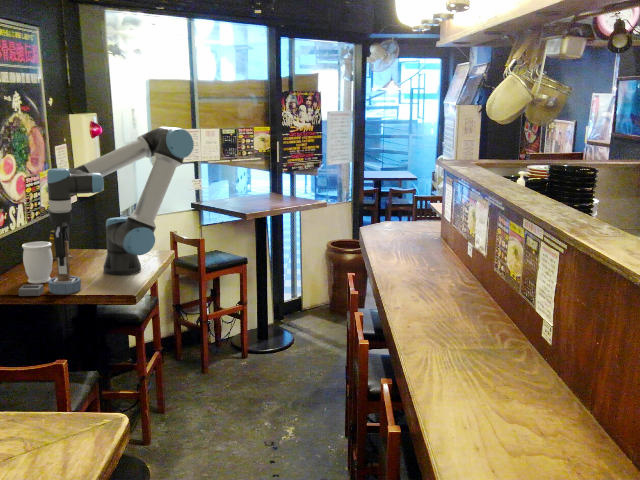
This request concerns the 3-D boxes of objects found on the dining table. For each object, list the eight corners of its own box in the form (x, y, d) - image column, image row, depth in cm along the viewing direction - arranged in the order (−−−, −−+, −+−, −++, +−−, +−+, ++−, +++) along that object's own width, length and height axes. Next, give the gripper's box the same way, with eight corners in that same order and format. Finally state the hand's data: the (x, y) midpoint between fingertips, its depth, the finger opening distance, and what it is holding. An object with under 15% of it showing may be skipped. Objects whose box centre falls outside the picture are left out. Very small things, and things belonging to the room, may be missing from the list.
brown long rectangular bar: (70, 282, 228) (68, 240, 225) (69, 283, 227) (67, 242, 223) (59, 282, 228) (57, 240, 224) (58, 283, 226) (55, 242, 222)
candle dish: (83, 285, 234) (83, 275, 233) (77, 294, 224) (76, 284, 223) (53, 286, 232) (53, 276, 231) (45, 294, 222) (45, 284, 221)
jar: (42, 286, 232) (39, 248, 229) (18, 283, 234) (15, 245, 231) (59, 278, 242) (57, 242, 239) (36, 276, 244) (34, 240, 241)
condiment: (48, 256, 275) (46, 230, 272) (67, 254, 280) (66, 228, 277) (52, 259, 269) (50, 233, 267) (72, 257, 274) (70, 231, 272)
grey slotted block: (43, 290, 226) (43, 284, 225) (39, 295, 221) (39, 289, 220) (23, 291, 225) (23, 284, 224) (19, 296, 219) (18, 289, 219)
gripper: (54, 207, 228) (58, 267, 233) (43, 214, 213) (47, 278, 218) (75, 207, 229) (78, 267, 234) (66, 214, 215) (69, 278, 220)
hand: (63, 272), depth 226 cm, fingers closed on brown long rectangular bar, 2 cm apart
